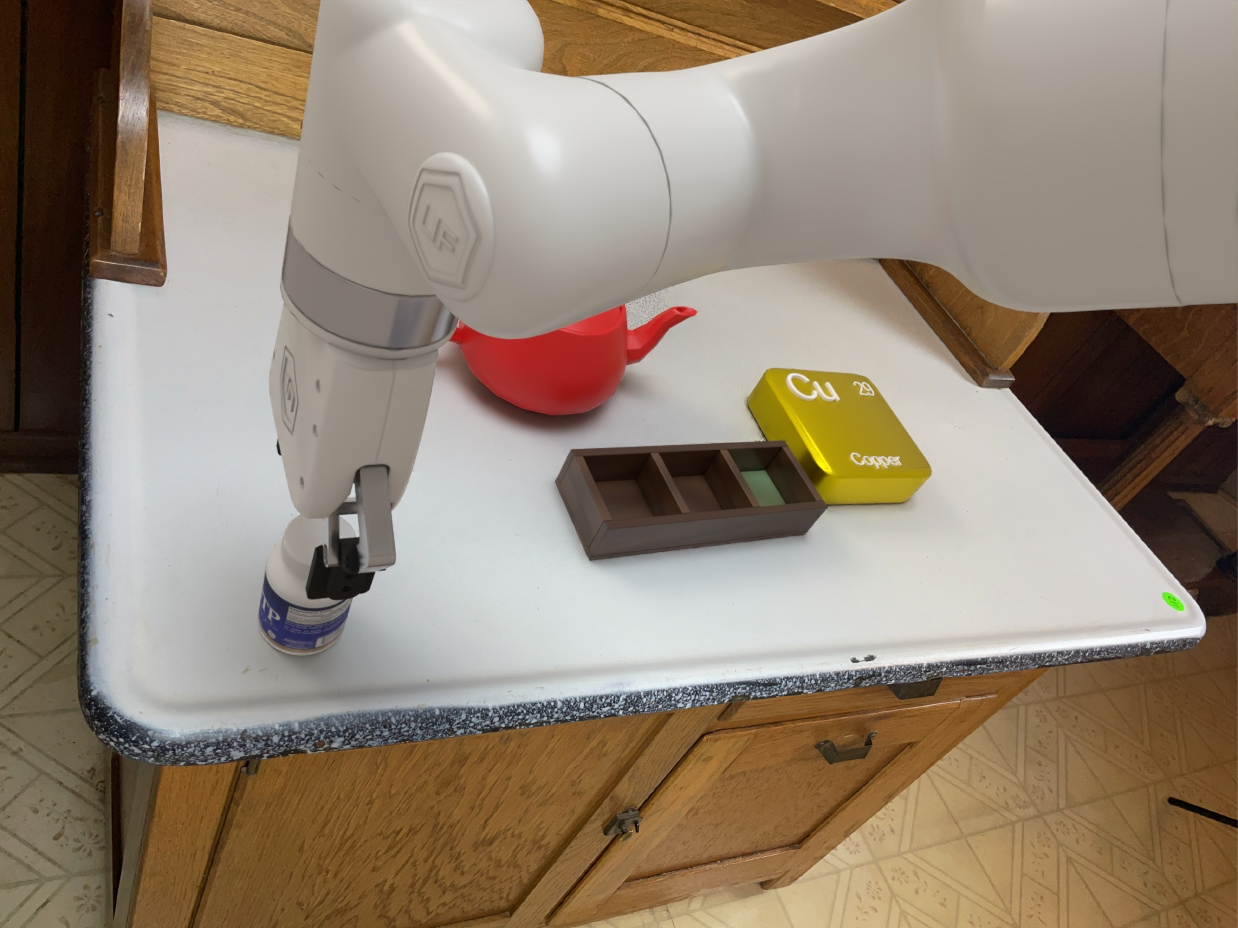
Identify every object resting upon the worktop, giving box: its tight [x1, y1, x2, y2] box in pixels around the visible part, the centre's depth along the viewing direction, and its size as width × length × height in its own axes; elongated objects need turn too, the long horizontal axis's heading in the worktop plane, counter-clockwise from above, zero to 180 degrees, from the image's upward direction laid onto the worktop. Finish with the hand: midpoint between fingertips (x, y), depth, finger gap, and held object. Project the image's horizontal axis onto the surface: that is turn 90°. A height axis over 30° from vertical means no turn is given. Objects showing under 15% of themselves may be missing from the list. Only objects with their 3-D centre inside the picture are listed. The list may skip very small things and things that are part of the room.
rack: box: [554, 440, 829, 561], centre depth 73 cm, size 8×23×4 cm, turn 114°
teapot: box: [448, 304, 698, 417], centre depth 76 cm, size 25×16×12 cm, turn 107°
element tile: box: [747, 367, 933, 505], centre depth 87 cm, size 15×15×5 cm
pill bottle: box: [257, 514, 357, 656], centre depth 51 cm, size 5×5×9 cm
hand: (320, 518), depth 47 cm, fingers open, 9 cm apart
